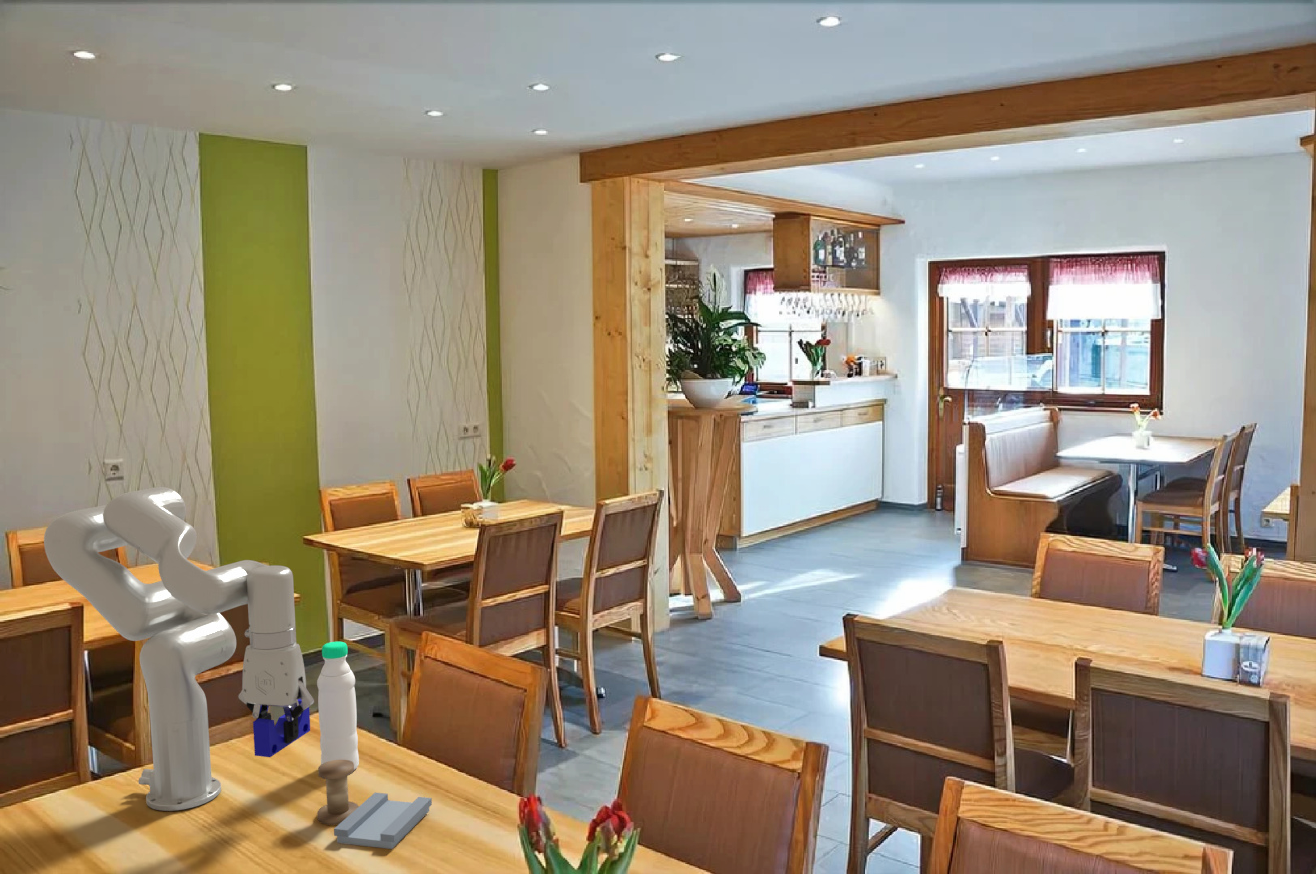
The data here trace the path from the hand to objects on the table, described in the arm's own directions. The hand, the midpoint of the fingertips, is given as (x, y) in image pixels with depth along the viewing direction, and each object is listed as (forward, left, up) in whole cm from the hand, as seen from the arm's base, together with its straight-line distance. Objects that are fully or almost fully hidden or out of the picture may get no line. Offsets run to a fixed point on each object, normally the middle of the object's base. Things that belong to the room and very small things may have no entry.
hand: (278, 738), depth 186 cm
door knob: (+10, +2, -14) cm, 17 cm away
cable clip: (0, 0, -1) cm, 1 cm away
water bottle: (0, +20, -14) cm, 25 cm away
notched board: (+20, 0, -14) cm, 24 cm away
